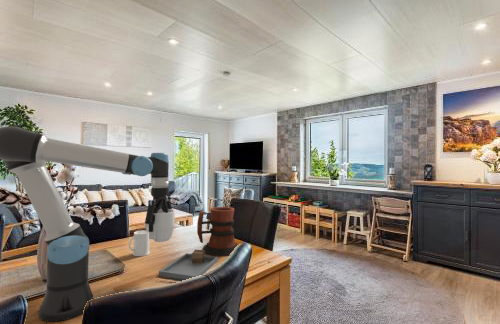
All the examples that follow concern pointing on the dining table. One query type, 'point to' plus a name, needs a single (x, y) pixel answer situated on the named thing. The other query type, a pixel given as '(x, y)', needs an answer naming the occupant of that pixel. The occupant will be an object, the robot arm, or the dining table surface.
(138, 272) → the dining table surface
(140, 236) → the mug
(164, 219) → the mug
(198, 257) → the walnut block
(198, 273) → the tray
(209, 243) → the tankard
